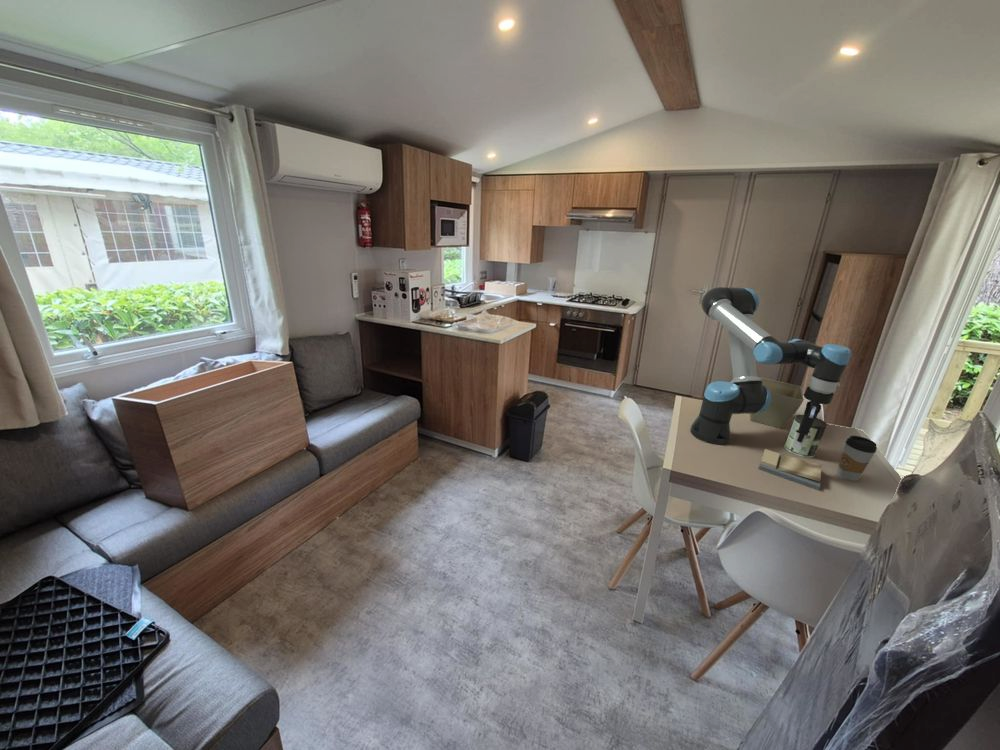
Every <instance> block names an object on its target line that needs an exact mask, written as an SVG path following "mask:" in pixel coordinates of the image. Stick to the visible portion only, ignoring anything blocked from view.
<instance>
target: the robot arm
mask: <svg viewBox="0 0 1000 750" xmlns="http://www.w3.org/2000/svg"><path fill="white" fill-rule="evenodd" d="M759 304H760V300H759V296H758V295H757V293H756V291H755V290H753V289H751V288H747V287H741V286H738V287H726V286H725V287H723V286H718V287H714V288H711V289H710V290H708V291H706V293H705V294H704V295H703V297H702V300H701V308H702V311H703V313H704V314H705V315H706V316H707V317H708V318H709V319H711V320H713V321H718V322H719V323H720V324H721V325H722V326H723V327H725V329H727V335H728V337H727V338H728V345H729V353H730V360H731V370H732V380H731V381H723V380H722V381H721V380H720V381H719V380H717V381H712V382H710V383H708V384H707V387H706V389H705V391H704V395H703V398H702V401H701V406H700V408H699V409H700V410H699V414H698V416H697V417H696V419H694V421H693V422H692V424H691V425H690V429H689V431H690V434H691V435H692V436H693V437H695V438H696V439H698V440H700V441H702V442H705V443H708V444H713V445H725V444H728V443H729V442H730V439H731V428H730V425H731V424H730V423H731V419H732V417H733V415H742V414H743V415H744V414H745V415H746V414H749V415H750V414H754V413H760V412H763V411H765V410H766V409H767V407H769V405H770V403H771V393H770V391H769V390H768V388H767V387H765V386H763V384H762V380H761V379H760V378H761V377H760V378H758V377H759V376H758V373H757V365H756V364H757V363H759V364H762V365H784V364H785V365H789V364H790V365H791V364H792V365H793V364H796V365H798V364H801V365H805V366H806V367H809V368H811V369H813V372H812V374H811V377H810V378H809V381H808V383H807V385H808V386H807V387H806V389H805V391H804V394H803V398H805V399H806V400H807V402H806V404H805V409H804V413H803V415H804V417H803V419H802V422H801V424H800V428H799V430H796V432H797V434H796V437H795V439H794V442H793V444H792V448H795V449H798V450H801V448H802V445H803V443H804V441H805V438H806V436H807V435H808V433H810V431H809V430H810V428H811V426H812V424H813V422H814V420H815V419H816V418H818V414H819V413H820V412H821V410H822V405H829V404H831V402H832V401H833V398H834V395H835V394H834V393H835V392H836V390H837V388H840V387H841V384H840V381H841V378H842V377H843V375H844V373H845V371H846V368H847V367H848V365H849V363H850V359H851V356H852V350H851V349H850V348H849V347H847V346H844V345H840V344H835V343H826V344H825V345H823V347H822V346H820V345H818V344H814V343H811V342H810V341H807V340H804V339H799V338H794V339H793V338H792V340H788V341H787V342H786V341H785V342H783V341H779V339H777V338H775V337H774V336H773V335H771V334H769V332H767V331H766V330H765V329H763V328H762V327H761V326H759V325H758V324H757V323H755V322H754V321H753V320H752V319H753V318H754V317H755V315H754V313H756V311H757V310H758V307H759ZM756 362H757V363H756Z"/></svg>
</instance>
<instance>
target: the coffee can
mask: <svg viewBox="0 0 1000 750" xmlns="http://www.w3.org/2000/svg"><path fill="white" fill-rule="evenodd" d="M803 417H804V414H796V415H794V419H793V422H792V425H791V428H790V430H789V433H788V436H787V439H786V442H785V443H784V449H785V450H786V451H788V452H789V453H791V454H792V455H795V456H798V457H801V458H809V459H810V458H811V459H812V458H814V457H815V455H816V453H817V450H818V448H819V445H820V443H821V440H822V437H823V436H824V433H825V430H826V428H827V427H828V423H827V422H826V421H824V420H823V419H821V418H818V417H816V419H815V420H814V422H813V424H812V426H811V428H810V430H809V431H810V433H808V435H807V436H806V438H805V441H804V443H803V445H802V448H801V450H798V449H795V448H792V444H793V442H794V439H795V437H796V434H797V432H796V430H799V428H800V424H801V422H802V419H803Z"/></svg>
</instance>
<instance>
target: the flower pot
mask: <svg viewBox="0 0 1000 750" xmlns="http://www.w3.org/2000/svg"><path fill="white" fill-rule="evenodd" d="M757 377H758V378H760V379H761V380H762V384H763V386H765V387H767V388H768V390H769V391H770V393H771V403H770V405H769V407H767V409H766V410H765V411H763V412H760V413H754V414H749V420H750V421H751V422H755V423H758V424H763V425H767V426H771V427H774V428H778V429H783V428H784V427H785V426H786V425H787V424H788V423H789V422H790V420H791V419H792V418H793V417H794V416H795V414H796V413H797V412H798V411H799V409H800V407H801V405H802V404H803V402H804V400H805V399H804V398H805V397H804V394H803V389H802V388H803V387H802V386H801V385H796V384H792V383H788V382H787V383H786V382H783V381H777V380H773V379H769V378H764V377H760V376H757Z"/></svg>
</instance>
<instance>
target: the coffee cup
mask: <svg viewBox="0 0 1000 750" xmlns="http://www.w3.org/2000/svg"><path fill="white" fill-rule="evenodd" d="M877 450H878V447H877V443H876V442H874V441H873V440H871V439H868V438H866V437H863V436H860V435H850V436H849V437H848V438H846V440H845V445H844V448H843V451H842V453H841V456H840V459H839V462H838V465H837V467H836V468H837V469H836V474H837V476H839V477H841V478H842V479H844V480H847V481H851V482H856V481H858V480H859V479H860V477H862V474H863V473H864V471H865V470H866V468H867V467H868V464H869V463H870V461H871V460H872V457H873V456H874V454H875V453H877Z"/></svg>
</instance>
